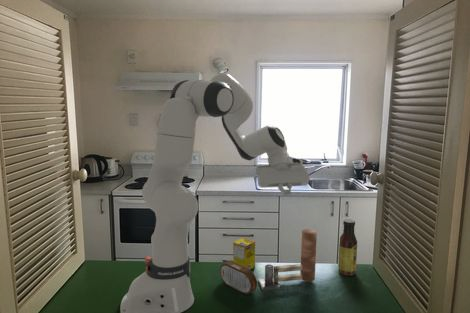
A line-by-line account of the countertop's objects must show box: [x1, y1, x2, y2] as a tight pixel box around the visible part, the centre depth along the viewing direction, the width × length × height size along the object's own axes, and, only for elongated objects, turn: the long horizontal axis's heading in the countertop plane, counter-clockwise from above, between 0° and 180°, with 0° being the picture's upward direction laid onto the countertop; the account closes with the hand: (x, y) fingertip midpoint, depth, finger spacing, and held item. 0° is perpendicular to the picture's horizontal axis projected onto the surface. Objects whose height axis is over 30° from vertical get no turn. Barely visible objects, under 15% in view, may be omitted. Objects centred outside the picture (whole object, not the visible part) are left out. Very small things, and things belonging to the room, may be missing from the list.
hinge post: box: [257, 264, 281, 292], centre depth 119 cm, size 6×6×7 cm
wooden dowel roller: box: [273, 228, 318, 283], centre depth 119 cm, size 15×5×17 cm, turn 100°
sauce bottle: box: [338, 219, 358, 277], centre depth 127 cm, size 6×6×20 cm
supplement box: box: [232, 237, 256, 271], centre depth 130 cm, size 6×6×11 cm
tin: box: [219, 260, 258, 295], centre depth 117 cm, size 15×3×8 cm, turn 47°
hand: (287, 195), depth 132 cm, fingers closed
